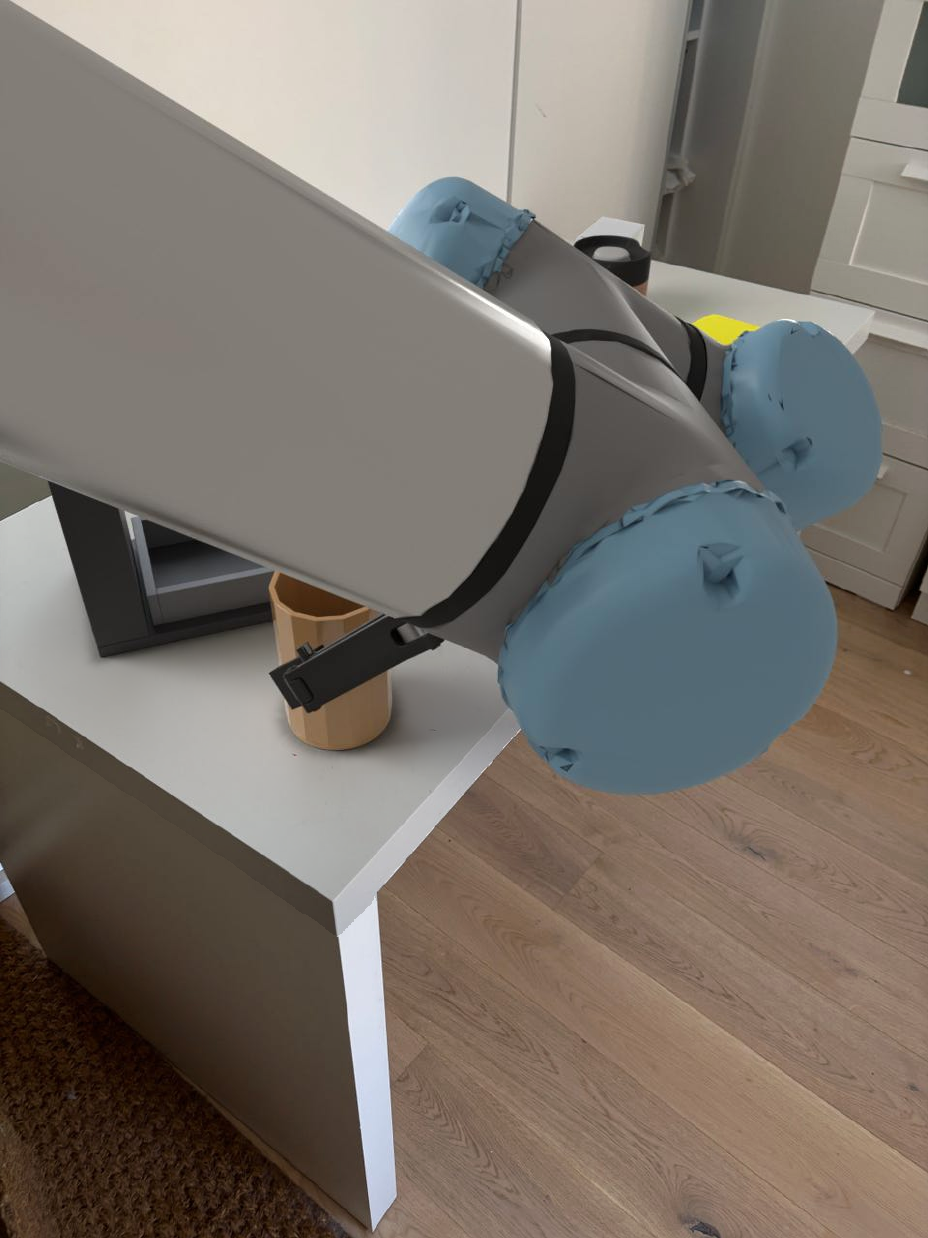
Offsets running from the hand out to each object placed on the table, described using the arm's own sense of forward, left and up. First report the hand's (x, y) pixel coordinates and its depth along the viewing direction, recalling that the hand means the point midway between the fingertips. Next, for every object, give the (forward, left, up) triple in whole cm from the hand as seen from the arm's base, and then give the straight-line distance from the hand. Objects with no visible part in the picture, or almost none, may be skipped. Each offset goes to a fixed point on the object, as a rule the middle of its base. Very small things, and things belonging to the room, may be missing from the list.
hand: (363, 635), depth 64 cm
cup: (-1, +3, -9) cm, 10 cm away
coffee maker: (-9, +22, -9) cm, 25 cm away
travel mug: (+35, +34, -9) cm, 49 cm away
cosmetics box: (+52, +65, -9) cm, 83 cm away
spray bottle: (+53, +43, -9) cm, 69 cm away
